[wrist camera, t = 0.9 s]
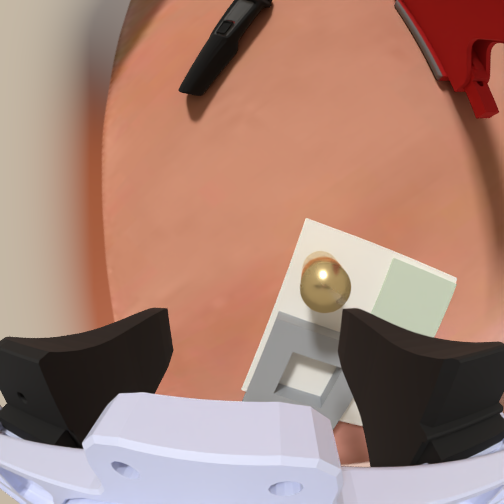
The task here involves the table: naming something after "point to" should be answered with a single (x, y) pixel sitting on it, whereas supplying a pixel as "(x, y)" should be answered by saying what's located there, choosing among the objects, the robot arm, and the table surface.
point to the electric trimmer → (221, 45)
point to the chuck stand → (339, 321)
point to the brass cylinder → (324, 283)
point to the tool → (458, 43)
